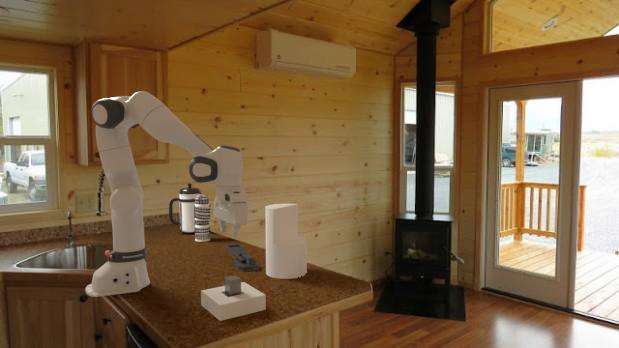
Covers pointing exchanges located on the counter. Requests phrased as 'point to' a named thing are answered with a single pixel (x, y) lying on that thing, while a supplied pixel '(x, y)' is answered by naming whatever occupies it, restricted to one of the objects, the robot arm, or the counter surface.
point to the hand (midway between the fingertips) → (229, 234)
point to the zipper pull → (242, 258)
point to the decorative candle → (202, 218)
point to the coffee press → (185, 208)
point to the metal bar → (232, 286)
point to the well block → (233, 302)
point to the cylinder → (284, 243)
